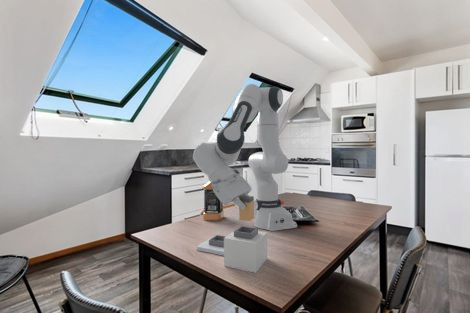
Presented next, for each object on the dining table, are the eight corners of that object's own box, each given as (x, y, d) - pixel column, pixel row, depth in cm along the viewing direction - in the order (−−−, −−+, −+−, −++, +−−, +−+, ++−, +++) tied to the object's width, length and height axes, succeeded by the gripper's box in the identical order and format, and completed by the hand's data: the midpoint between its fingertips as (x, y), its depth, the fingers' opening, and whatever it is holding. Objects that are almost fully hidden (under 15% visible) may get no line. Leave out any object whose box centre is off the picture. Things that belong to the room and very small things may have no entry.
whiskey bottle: (224, 216, 154) (223, 163, 153) (220, 221, 145) (219, 164, 143) (207, 215, 156) (206, 163, 155) (202, 220, 147) (202, 164, 145)
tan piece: (243, 216, 96) (243, 195, 95) (254, 218, 94) (253, 196, 93) (239, 219, 92) (239, 197, 92) (249, 221, 90) (249, 198, 90)
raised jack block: (238, 253, 101) (238, 223, 101) (267, 258, 96) (267, 227, 96) (224, 265, 91) (223, 232, 90) (255, 272, 85) (255, 237, 85)
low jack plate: (213, 238, 117) (213, 231, 117) (241, 243, 111) (241, 235, 111) (196, 250, 105) (196, 241, 104) (227, 256, 99) (226, 247, 98)
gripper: (214, 176, 86) (242, 207, 82) (240, 170, 104) (263, 195, 100) (203, 188, 88) (229, 219, 84) (230, 180, 106) (252, 205, 103)
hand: (248, 206), depth 92 cm, fingers closed on tan piece, 4 cm apart
